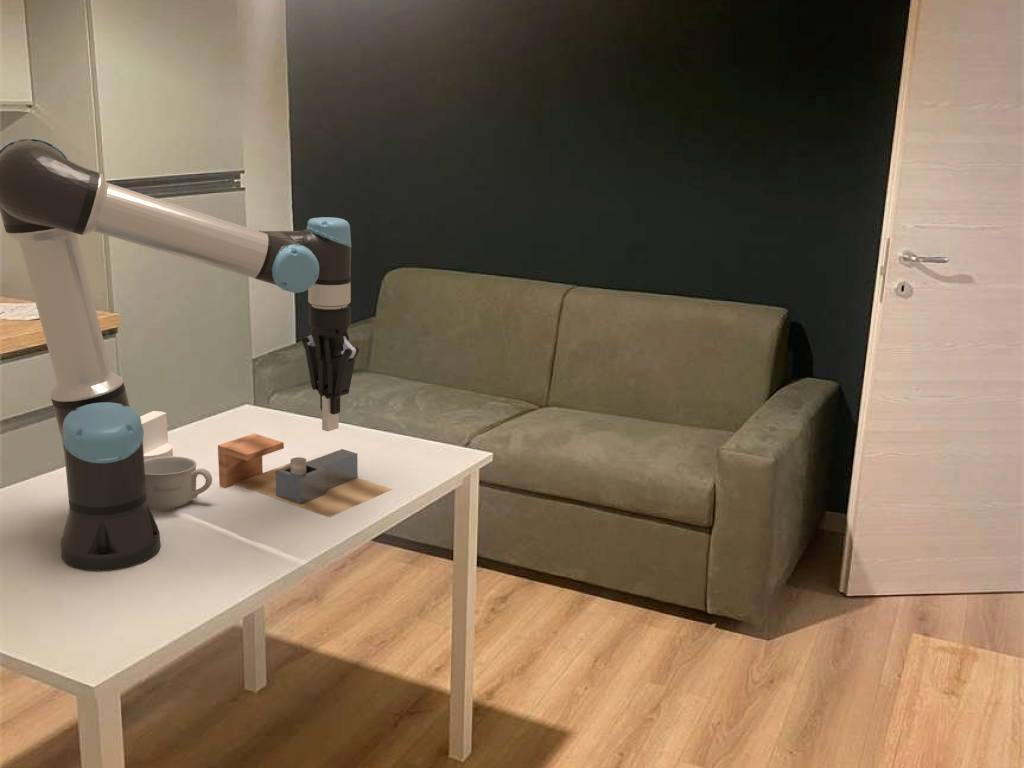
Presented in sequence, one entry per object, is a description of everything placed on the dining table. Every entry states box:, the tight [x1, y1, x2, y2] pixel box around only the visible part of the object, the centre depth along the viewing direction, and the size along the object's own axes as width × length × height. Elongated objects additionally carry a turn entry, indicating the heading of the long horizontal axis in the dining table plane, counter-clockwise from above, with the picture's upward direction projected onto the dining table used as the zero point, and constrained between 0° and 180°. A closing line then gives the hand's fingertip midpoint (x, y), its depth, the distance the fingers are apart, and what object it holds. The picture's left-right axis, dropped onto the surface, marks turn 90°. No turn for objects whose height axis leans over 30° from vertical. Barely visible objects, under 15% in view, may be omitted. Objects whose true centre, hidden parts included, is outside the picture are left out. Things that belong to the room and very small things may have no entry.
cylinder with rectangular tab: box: [140, 410, 174, 460], centre depth 201 cm, size 9×9×12 cm
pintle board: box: [217, 433, 393, 518], centre depth 198 cm, size 18×28×8 cm, turn 55°
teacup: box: [144, 455, 213, 512], centre depth 188 cm, size 14×11×8 cm
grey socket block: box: [275, 448, 359, 504], centre depth 197 cm, size 16×6×5 cm, turn 145°
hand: (330, 428), depth 196 cm, fingers closed
